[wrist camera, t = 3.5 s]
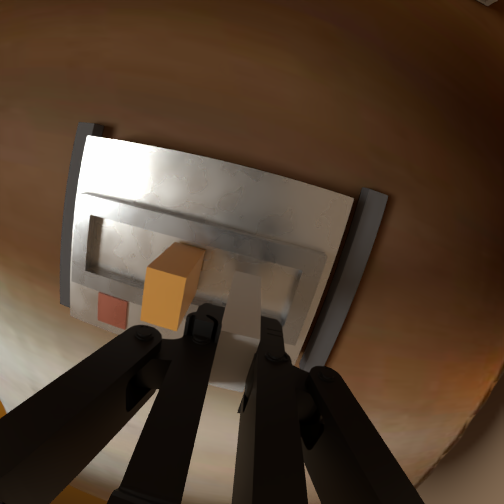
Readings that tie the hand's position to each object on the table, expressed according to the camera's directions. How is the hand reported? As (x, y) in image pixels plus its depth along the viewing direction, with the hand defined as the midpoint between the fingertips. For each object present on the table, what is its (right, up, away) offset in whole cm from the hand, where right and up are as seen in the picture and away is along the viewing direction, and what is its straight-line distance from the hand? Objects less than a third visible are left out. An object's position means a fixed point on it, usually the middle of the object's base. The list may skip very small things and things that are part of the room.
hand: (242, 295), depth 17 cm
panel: (-4, +3, +6) cm, 7 cm away
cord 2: (+8, 0, +6) cm, 10 cm away
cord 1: (-14, +5, +6) cm, 16 cm away
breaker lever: (-4, +1, +2) cm, 4 cm away
